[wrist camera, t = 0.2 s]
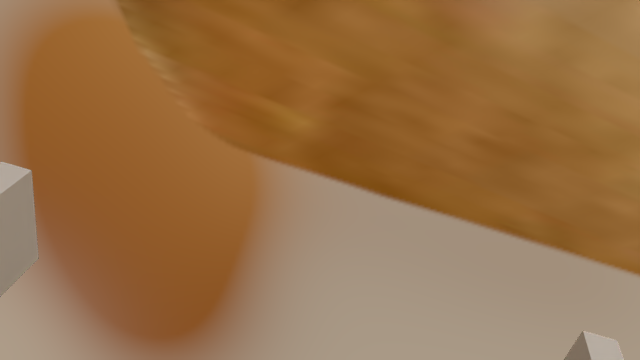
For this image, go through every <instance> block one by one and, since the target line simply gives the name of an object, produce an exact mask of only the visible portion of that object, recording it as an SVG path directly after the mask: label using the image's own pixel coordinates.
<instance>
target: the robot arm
mask: <svg viewBox="0 0 640 360" xmlns="http://www.w3.org/2000/svg"><path fill="white" fill-rule="evenodd" d="M37 245H38V244H37V232H36V219H35V208H34V194H33V183H32V171H31V170H29V169H25V168H21V167H18V166H15V165H11V164H8V163H5V162H0V297H1V296H2V295H3V294H4V293H5V292H6V291H7V290H8V289H9V288H10V287H11V286H12V285H13V284H14V283H15V282H16V281H17V280H18V279H19V278H20V277H21V276H22V275H23V274H24V273H25V272H26V271H27V270H28V269H29V268H30V267H31V265H33V264H34V263H35V262H36V261H37V260H38V259H39V257H38V246H37ZM564 360H624V358H623V356H622V353H621V350H620V347H619V344H618V342H617V340H614V339H610V338H607V337H604V336H600V335H597V334H593V333H590V332H586V331H582V333H581V334H580V336H579V337H578V339H577V341H576V342H575V344H574V345H573V346H572V348H571V349H570V351H569V353H568V354H567V356H566V357H565V359H564Z"/></svg>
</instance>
